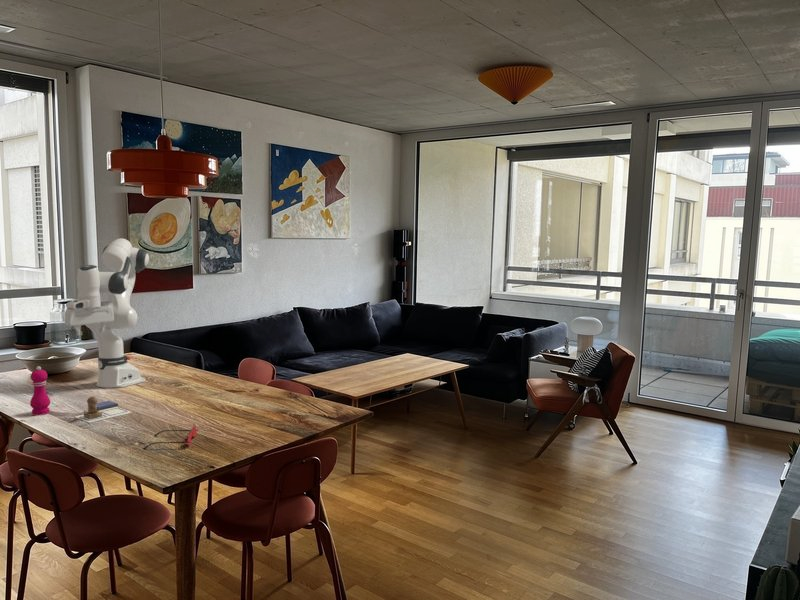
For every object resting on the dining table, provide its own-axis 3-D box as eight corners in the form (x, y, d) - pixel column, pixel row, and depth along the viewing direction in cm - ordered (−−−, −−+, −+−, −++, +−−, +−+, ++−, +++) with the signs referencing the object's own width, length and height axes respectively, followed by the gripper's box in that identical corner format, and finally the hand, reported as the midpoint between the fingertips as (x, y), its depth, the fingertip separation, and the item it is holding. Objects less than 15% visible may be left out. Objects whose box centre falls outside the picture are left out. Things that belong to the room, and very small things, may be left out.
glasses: (190, 449, 216) (190, 436, 216) (142, 450, 215) (141, 436, 214) (198, 436, 230) (198, 423, 230) (153, 437, 228) (153, 424, 228)
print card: (116, 407, 262) (116, 406, 262) (131, 412, 255) (131, 411, 255) (74, 417, 248) (74, 416, 248) (89, 423, 241) (89, 422, 241)
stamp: (95, 414, 251) (95, 394, 250) (102, 416, 249) (101, 396, 248) (83, 417, 247) (82, 396, 246) (89, 419, 244) (89, 399, 244)
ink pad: (109, 403, 269) (109, 400, 268) (118, 406, 264) (118, 403, 264) (89, 407, 261) (89, 404, 261) (97, 410, 257) (97, 407, 257)
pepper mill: (30, 416, 247) (27, 368, 245) (31, 411, 254) (29, 365, 252) (50, 414, 251) (48, 367, 248) (51, 409, 257) (49, 363, 255)
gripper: (108, 300, 273) (109, 330, 275) (62, 304, 257) (63, 336, 258) (116, 301, 269) (117, 331, 271) (69, 305, 253) (70, 337, 255)
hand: (90, 334), depth 264 cm, fingers open, 8 cm apart
